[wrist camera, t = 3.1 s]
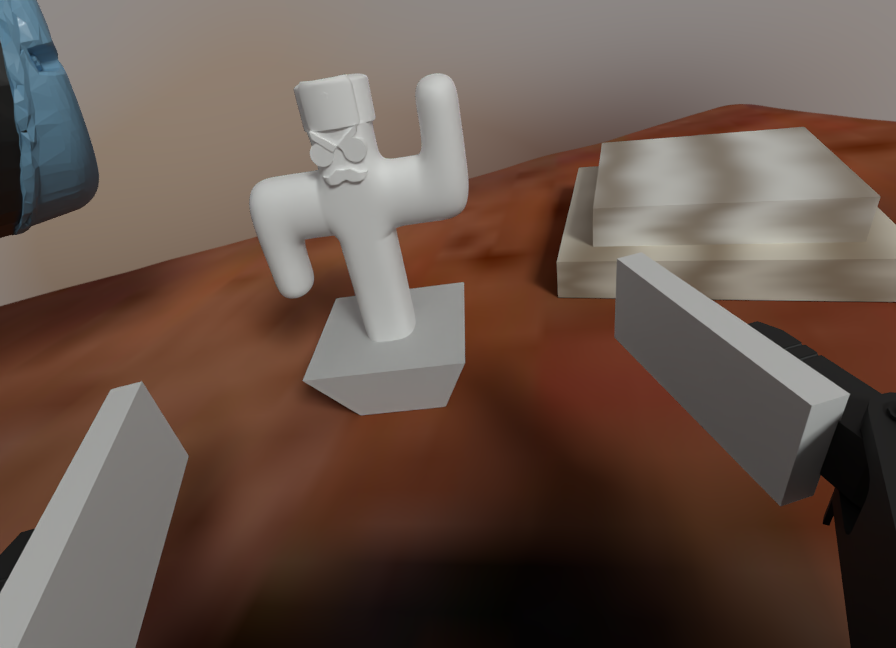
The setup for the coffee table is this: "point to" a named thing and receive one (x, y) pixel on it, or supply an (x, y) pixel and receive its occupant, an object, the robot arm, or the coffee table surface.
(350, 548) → the coffee table surface
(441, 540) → the coffee table surface
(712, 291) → the plinth
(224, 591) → the coffee table surface
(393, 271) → the figurine
